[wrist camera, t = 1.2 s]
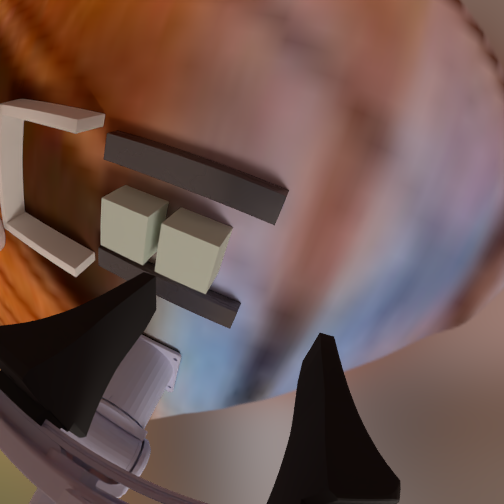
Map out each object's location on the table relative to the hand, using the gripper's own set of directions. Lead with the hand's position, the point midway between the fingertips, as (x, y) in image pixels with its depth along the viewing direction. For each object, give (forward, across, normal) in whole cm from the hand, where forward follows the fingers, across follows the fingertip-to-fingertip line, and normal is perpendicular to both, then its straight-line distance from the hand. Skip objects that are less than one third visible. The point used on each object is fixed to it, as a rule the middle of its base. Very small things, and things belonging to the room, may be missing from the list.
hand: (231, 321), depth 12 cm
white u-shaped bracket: (+8, +21, +1) cm, 23 cm away
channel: (+9, +7, +2) cm, 11 cm away
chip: (+9, +10, +2) cm, 13 cm away
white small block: (+9, +5, +2) cm, 10 cm away
